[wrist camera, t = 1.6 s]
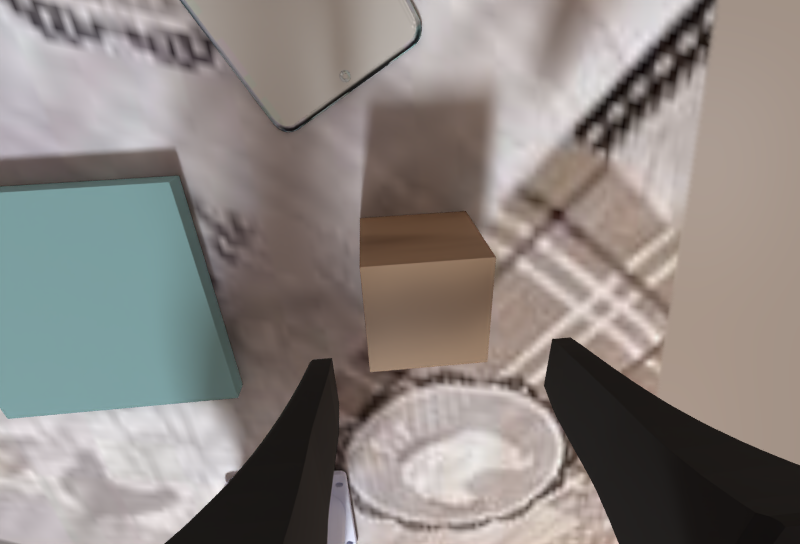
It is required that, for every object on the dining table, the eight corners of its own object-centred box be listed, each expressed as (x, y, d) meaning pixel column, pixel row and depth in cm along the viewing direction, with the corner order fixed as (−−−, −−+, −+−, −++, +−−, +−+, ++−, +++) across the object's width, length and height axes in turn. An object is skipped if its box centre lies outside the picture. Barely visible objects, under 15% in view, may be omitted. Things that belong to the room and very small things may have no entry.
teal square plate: (242, 384, 23) (238, 397, 22) (21, 404, 22) (7, 418, 21) (178, 175, 17) (169, 182, 16) (-122, 194, 17) (-149, 201, 16)
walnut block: (461, 299, 22) (487, 361, 17) (368, 306, 21) (370, 372, 17) (465, 210, 19) (495, 257, 15) (360, 217, 19) (359, 267, 15)
